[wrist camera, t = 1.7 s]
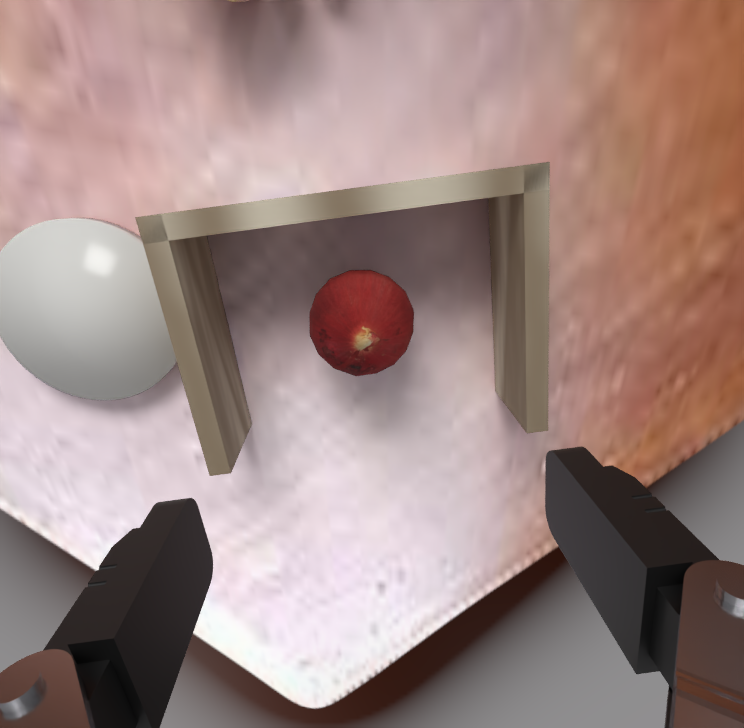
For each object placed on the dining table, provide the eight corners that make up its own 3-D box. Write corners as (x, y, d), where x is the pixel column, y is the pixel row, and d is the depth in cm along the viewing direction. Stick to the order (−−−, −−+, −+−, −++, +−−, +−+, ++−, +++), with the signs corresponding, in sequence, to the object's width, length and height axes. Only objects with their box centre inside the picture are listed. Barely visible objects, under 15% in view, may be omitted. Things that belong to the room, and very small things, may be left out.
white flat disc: (162, 205, 27) (153, 206, 26) (208, 380, 31) (203, 388, 30) (-28, 231, 27) (-44, 232, 26) (42, 403, 31) (31, 411, 30)
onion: (385, 362, 31) (397, 417, 23) (302, 334, 30) (286, 381, 22) (419, 280, 29) (443, 310, 22) (331, 247, 28) (325, 266, 21)
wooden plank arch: (507, 168, 27) (549, 162, 21) (512, 388, 32) (547, 430, 26) (179, 212, 27) (135, 217, 21) (234, 426, 32) (209, 475, 26)
